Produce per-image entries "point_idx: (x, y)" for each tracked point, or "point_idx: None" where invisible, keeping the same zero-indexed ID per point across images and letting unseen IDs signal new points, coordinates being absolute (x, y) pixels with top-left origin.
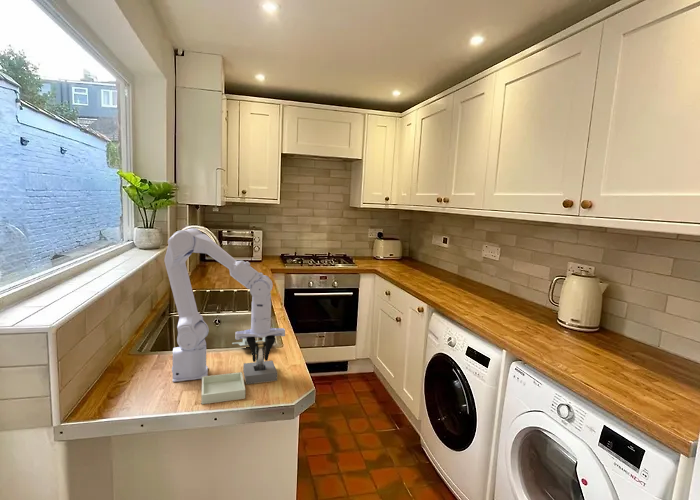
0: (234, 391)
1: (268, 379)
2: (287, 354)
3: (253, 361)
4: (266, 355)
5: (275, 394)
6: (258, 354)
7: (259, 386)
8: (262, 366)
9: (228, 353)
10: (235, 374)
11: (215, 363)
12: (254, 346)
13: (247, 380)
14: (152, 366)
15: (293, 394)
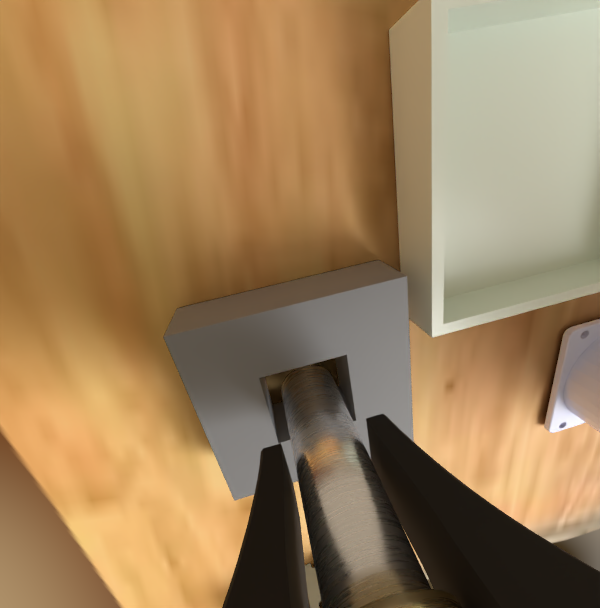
0: None
1: (237, 300)
2: (171, 586)
3: (385, 415)
4: (278, 489)
5: (147, 70)
6: (369, 486)
7: (292, 227)
8: (296, 399)
9: None
10: (468, 313)
11: (503, 463)
12: (519, 594)
13: (382, 267)
14: None
15: None
